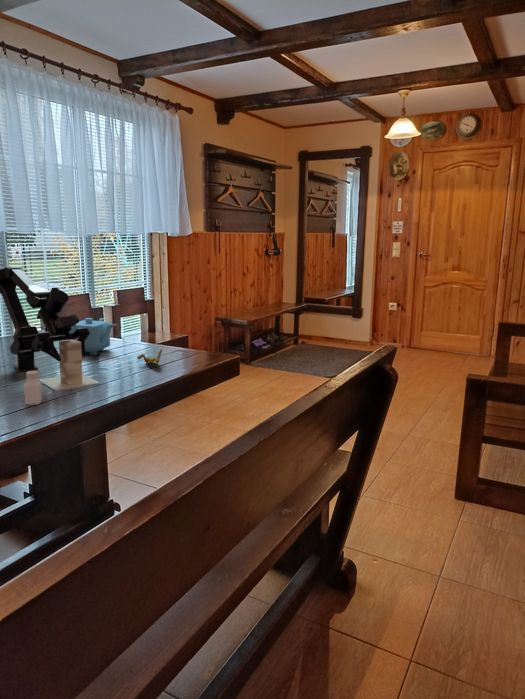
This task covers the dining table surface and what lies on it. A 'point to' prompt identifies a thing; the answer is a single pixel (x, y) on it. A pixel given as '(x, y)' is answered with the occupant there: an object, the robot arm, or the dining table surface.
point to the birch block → (70, 362)
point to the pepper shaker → (32, 389)
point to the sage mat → (57, 385)
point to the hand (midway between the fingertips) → (72, 358)
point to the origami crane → (150, 358)
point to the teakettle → (95, 334)
